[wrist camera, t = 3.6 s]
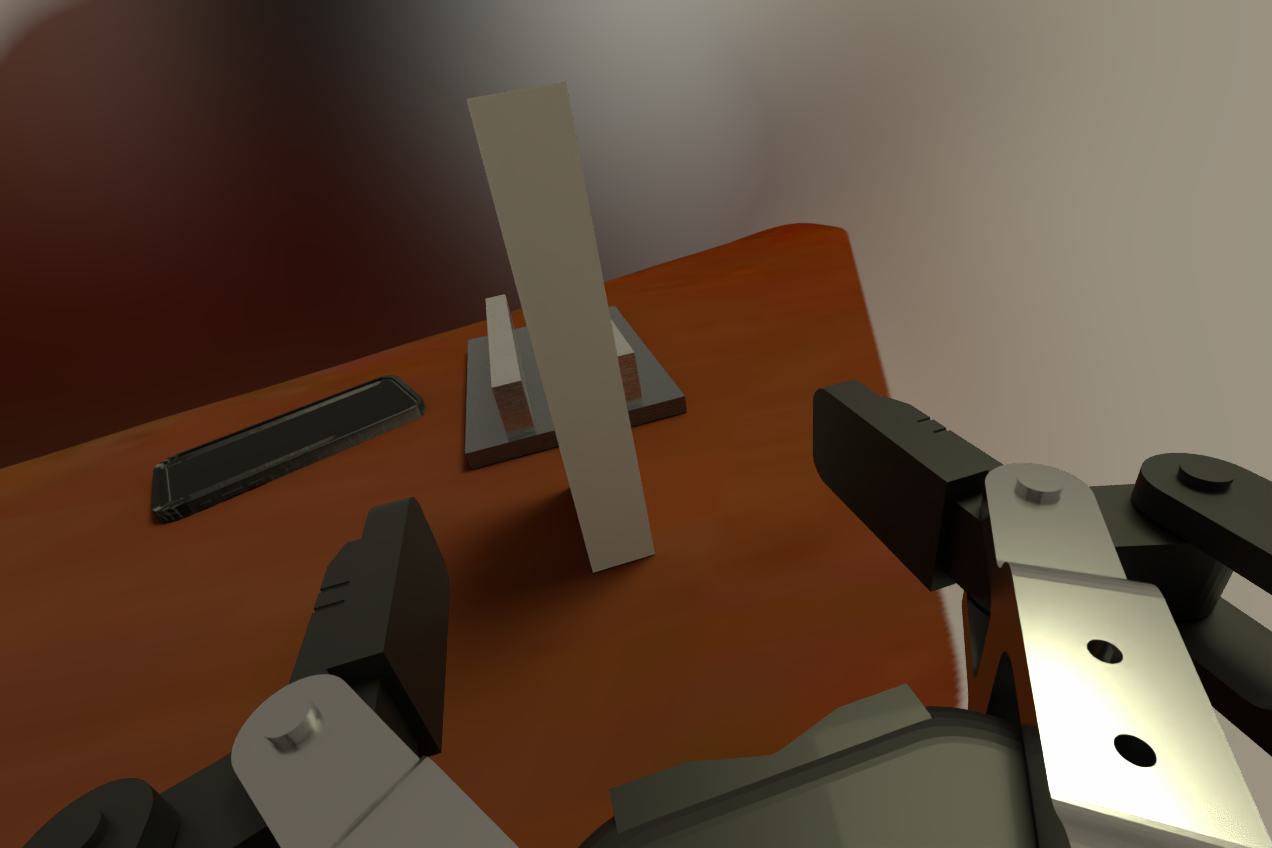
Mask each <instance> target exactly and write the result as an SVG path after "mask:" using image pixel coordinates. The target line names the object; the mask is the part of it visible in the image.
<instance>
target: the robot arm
mask: <svg viewBox="0 0 1272 848" xmlns="http://www.w3.org/2000/svg"><path fill="white" fill-rule="evenodd" d="M813 458H814V463H815V466H816V469H817V472H818V474H819V476H820V477H821V479H822V480H823V482H824V483H825V484H826V485H827V486H828V487H829V488H830V489H831V490H832V491H833V492H834V493H835V494H836V495H837V496H838V497H839V498H840V499H841V500H842V501H843V502H844V503H845V504H846V505H847V506H848V507H849V509H850V510H851V511H852V512H853V513H854V514H855V515H856V516H857V517H858V518H859V519H860V520H861V521H862V522H863V523H864V524H865V525H866V526H867V527H868V528H869V529H870V530H871V531H872V532H873V533H874V534H875V535H876V536H877V537H878V538H879V539H880V540H881V541H882V542H883V543H884V544H885V545H886V546H887V547H888V549H889V550H890V551H891V552H892V553H893V554H894V555H895V556H896V557H897V558H898V559H899V560H900V561H901V562H902V563H903V564H904V565H905V566H906V567H907V568H908V569H909V570H910V571H911V572H912V573H913V574H914V575H915V576H916V577H917V578H918V579H919V580H920V581H921V582H922V583H923V584H924V585H925V586H926V587H927V589H928V590H929V591H930V592H932V591H935V590H938V589H941V588H944V587H947V586H950V585H953V584H955V583H957V584H958V585H959V586H960V587H961V588H962V589H963V590H964V594H963V599H962V615H963V627H964V641H965V655H966V668H967V681H968V710H966V709H960V708H954V707H939V706H923V704H922V703H921V702H920V701H919V699H918V698H917V697H916V695H915V694H914V693H913V691H912V690H911V689H910V688H909V686H908V685H907V684H904V685H901V686H898V687H895V688H892V689H890V690H887V691H884V692H881V693H878V694H875V695H873V696H870V697H867V698H864V699H861V700H859V701H856V702H853V703H850V704H847V705H845V706H842V707H839V708H837V709H836V710H834V711H833V712H831V713H830V714H829V715H827V716H826V717H825V718H823V719H822V720H821V721H819V722H818V723H817V724H815V725H814V726H813V727H811V728H810V729H808V730H807V731H806V732H804V733H803V734H802V735H800V736H799V737H798V738H796V739H795V740H794V741H792V742H791V743H789V744H788V745H787V746H785V747H784V748H783V749H781V750H780V751H778V752H777V753H774V754H772V755H767V756H758V757H745V758H731V759H718V760H705V761H692V762H685V763H682V764H679V765H676V766H674V767H671V768H668V769H665V770H662V771H660V772H657V773H654V774H651V775H648V776H645V777H643V778H640V779H637V780H634V781H631V782H629V783H626V784H623V785H620V786H617V787H615V788H612V789H609V792H610V797H611V802H612V807H613V812H614V817H612V818H611V819H610V820H608V821H607V822H605V823H604V824H603V825H601V826H600V827H599V828H598V829H597V830H596V831H594V832H593V833H592V834H591V835H590V836H589V837H588V838H587V839H586V840H585V841H584V842H583V843H582V844H581V845H580V846H579V847H578V848H1272V842H1271V839H1270V837H1269V835H1268V833H1267V831H1266V828H1265V826H1264V824H1263V821H1262V819H1261V817H1260V814H1259V812H1258V810H1257V808H1256V805H1255V803H1254V801H1253V799H1252V796H1251V794H1250V792H1249V789H1248V787H1247V785H1246V783H1245V780H1244V778H1243V776H1242V774H1241V772H1240V769H1239V767H1238V765H1237V762H1236V760H1235V758H1234V756H1233V754H1232V751H1231V749H1230V746H1229V744H1228V742H1227V740H1226V738H1225V735H1224V733H1223V731H1222V729H1221V726H1220V724H1219V721H1218V719H1217V717H1216V715H1215V712H1214V710H1213V708H1212V707H1214V708H1215V709H1216V710H1217V711H1218V712H1219V713H1221V714H1222V715H1223V716H1224V717H1225V718H1227V719H1228V720H1229V721H1230V722H1231V723H1232V724H1234V725H1235V726H1236V727H1237V728H1239V729H1240V730H1241V731H1242V732H1243V733H1244V734H1245V735H1247V736H1248V737H1249V738H1250V739H1251V740H1253V741H1254V742H1255V743H1256V744H1257V745H1258V746H1260V747H1261V748H1262V749H1263V750H1264V751H1266V752H1267V753H1268V754H1269V755H1270V756H1272V632H1271V631H1270V630H1269V629H1267V628H1266V627H1264V626H1263V625H1261V624H1260V623H1258V622H1257V621H1255V620H1254V619H1252V618H1251V617H1249V616H1248V615H1247V614H1245V613H1244V612H1242V611H1241V610H1239V609H1238V608H1236V607H1235V606H1233V605H1232V604H1230V603H1229V602H1227V601H1226V600H1224V599H1223V598H1221V597H1220V596H1221V594H1222V592H1223V590H1224V588H1225V586H1226V584H1227V582H1228V581H1229V578H1230V577H1231V575H1232V572H1233V571H1235V572H1236V573H1238V574H1240V575H1241V576H1242V577H1244V578H1246V579H1247V580H1249V581H1250V582H1252V583H1254V584H1255V585H1257V586H1258V587H1260V588H1261V589H1263V590H1265V591H1266V592H1268V593H1269V594H1271V595H1272V482H1271V481H1269V480H1267V479H1265V478H1263V477H1261V476H1259V475H1257V474H1255V473H1253V472H1251V471H1249V470H1246V469H1244V468H1242V467H1240V466H1237V465H1235V464H1232V463H1229V462H1227V461H1224V460H1220V459H1217V458H1212V457H1208V456H1203V455H1197V454H1188V453H1166V454H1160V455H1155V456H1153V457H1150V458H1148V459H1147V460H1145V461H1144V462H1143V464H1142V467H1141V469H1140V472H1139V475H1138V478H1137V480H1136V483H1135V484H1128V485H1110V486H1092V487H1089V486H1088V485H1087V484H1085V483H1084V482H1083V481H1082V480H1080V479H1078V478H1077V477H1075V476H1074V475H1071V474H1069V473H1067V472H1065V471H1062V470H1059V469H1057V468H1053V467H1050V466H1045V465H1040V464H1032V463H1013V464H1006V465H1003V464H1002V463H1000V462H998V461H997V460H995V459H994V458H992V457H991V456H989V455H988V454H986V453H985V452H983V451H981V450H980V449H978V448H977V447H975V446H974V445H972V444H971V443H969V442H967V441H966V440H964V439H963V438H961V437H959V436H958V435H957V434H955V433H953V432H952V431H950V430H949V431H946V428H945V427H944V426H942V425H941V424H939V423H938V422H936V421H935V420H930V417H928V416H927V415H926V414H924V413H922V412H921V411H919V410H917V409H916V408H915V407H913V406H912V405H910V404H907V403H903V402H900V401H897V400H894V399H891V398H888V397H885V396H883V397H880V396H879V395H877V394H876V393H874V392H873V391H871V390H870V389H868V388H867V387H865V386H864V385H862V384H861V383H859V382H858V381H855V380H850V381H847V382H843V383H839V384H836V385H832V386H828V387H824V388H821V389H818V390H817V391H816V392H815V394H814V398H813ZM320 590H321V593H320V594H318V597H317V600H316V603H315V606H314V610H315V613H312V615H311V619H310V622H309V625H308V628H307V631H306V634H305V637H304V640H303V643H302V646H301V649H300V652H299V655H298V658H297V661H296V664H295V667H294V670H293V673H292V676H291V679H290V682H289V685H288V686H286V687H284V688H282V689H281V690H279V691H278V692H276V693H275V694H273V695H272V696H271V697H269V698H268V699H267V700H266V701H265V702H264V703H262V704H261V705H260V706H259V707H258V708H257V709H256V710H255V711H254V712H253V714H252V715H251V716H250V717H249V718H248V720H247V721H246V722H245V724H244V725H243V727H242V728H241V730H240V732H239V733H238V735H237V737H236V739H235V742H234V745H233V748H232V752H231V753H230V754H228V755H226V756H225V757H223V758H222V759H220V760H218V761H216V762H215V763H213V764H211V765H209V766H208V767H206V768H204V769H202V770H201V771H199V772H197V773H195V774H194V775H192V776H190V777H188V778H187V779H185V780H183V781H181V782H180V783H178V784H176V785H174V786H173V787H171V788H169V789H167V790H166V791H164V792H162V793H160V794H159V793H158V792H156V791H155V790H154V789H153V788H152V787H151V786H150V785H149V784H148V783H146V782H145V781H144V780H141V779H138V778H126V779H119V780H116V781H113V782H109V783H107V784H104V785H102V786H100V787H97V788H95V789H94V790H92V791H90V792H88V793H86V794H84V795H83V796H81V797H80V798H78V799H76V800H75V801H73V802H72V803H70V804H69V805H68V806H66V807H65V808H64V809H62V810H61V811H60V812H58V813H57V814H56V815H55V816H54V817H53V818H51V819H50V820H49V821H48V822H47V823H46V824H45V825H44V826H42V827H41V828H40V829H39V830H38V831H37V832H36V833H35V834H34V835H33V836H32V838H31V839H30V840H29V841H28V842H27V843H26V844H25V845H24V846H23V848H519V847H518V846H517V845H516V844H515V843H514V842H513V841H512V840H511V839H510V838H509V837H508V836H507V835H506V834H505V833H504V832H503V831H502V830H501V829H500V828H499V827H498V826H497V825H496V824H495V823H494V822H493V821H492V820H491V819H490V818H489V817H488V816H487V815H486V814H485V813H484V812H483V811H482V810H481V809H480V808H479V807H478V806H477V805H476V804H475V803H474V802H473V801H472V800H471V799H470V798H469V797H468V796H467V795H466V794H465V793H464V792H463V791H462V790H461V789H460V788H459V787H458V786H457V785H456V784H455V783H454V782H453V781H452V780H451V779H450V778H449V777H448V776H447V775H446V774H445V773H444V772H443V771H442V770H441V769H440V768H439V767H438V766H437V765H436V764H435V763H434V762H433V761H432V760H431V759H429V758H428V757H430V756H433V755H436V754H439V753H441V748H442V729H443V710H444V691H445V672H446V653H447V634H448V615H449V596H450V586H449V578H448V573H447V568H446V565H445V562H444V559H443V557H442V554H441V552H440V550H439V547H438V545H437V543H436V541H435V538H434V536H433V534H432V532H431V529H430V527H429V525H428V522H427V520H426V518H425V516H424V513H423V511H422V509H421V507H420V505H419V503H418V501H417V500H416V499H415V498H414V497H411V498H407V499H403V500H399V501H396V502H392V503H388V504H385V505H381V506H377V507H373V508H371V509H370V510H369V513H368V516H367V520H366V524H365V527H364V531H363V535H362V538H361V539H359V540H356V541H352V542H348V543H346V544H345V545H344V547H343V548H342V549H341V550H340V552H339V553H338V554H337V555H336V557H335V558H334V559H333V560H332V562H331V563H330V564H329V565H328V567H327V570H326V573H325V576H324V579H323V582H322V585H321V588H320Z"/></svg>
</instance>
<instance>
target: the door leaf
mask: <svg viewBox="0 0 1272 848" xmlns="http://www.w3.org/2000/svg"><path fill="white" fill-rule="evenodd" d="M467 104H468V107H469V111H470V115H471V119H472V122H473V126H474V130H475V133H476V137H477V141H478V145H479V148H480V152H481V156H482V160H483V163H484V167H485V171H486V175H487V178H488V182H489V186H490V190H491V193H492V197H493V201H494V204H495V208H496V212H497V216H498V219H499V223H500V227H501V231H502V234H503V238H504V242H505V246H506V249H507V253H508V257H509V261H510V264H511V268H512V272H513V276H514V279H515V283H516V287H517V290H518V294H519V298H520V302H521V306H522V309H523V313H524V317H525V321H526V324H527V328H528V332H529V336H530V339H531V343H532V347H533V351H534V354H535V358H536V362H537V366H538V369H539V373H540V377H541V381H542V384H543V388H544V392H545V395H546V399H547V403H548V407H549V410H550V414H551V418H552V422H553V425H554V429H555V433H556V437H557V440H558V444H559V448H560V452H561V455H562V459H563V463H564V467H565V470H566V474H567V478H568V482H569V485H570V489H571V493H572V497H573V500H574V504H575V508H576V511H577V515H578V519H579V523H580V526H581V530H582V534H583V538H584V541H585V545H586V549H587V553H588V556H589V560H590V564H591V568H592V571H593V573H594V572H597V571H600V570H604V569H607V568H610V567H614V566H617V565H620V564H624V563H627V562H630V561H634V560H637V559H640V558H644V557H647V556H650V555H654V554H655V553H654V548H653V542H652V537H651V532H650V526H649V521H648V516H647V510H646V505H645V500H644V494H643V489H642V484H641V478H640V473H639V468H638V462H637V457H636V452H635V447H634V441H633V436H632V431H631V425H630V420H629V415H628V409H627V404H626V399H625V393H624V388H623V383H622V377H621V372H620V367H619V361H618V356H617V351H616V345H615V340H614V335H613V330H612V324H611V319H610V314H609V308H608V303H607V298H606V292H605V287H604V282H603V277H602V271H601V266H600V260H599V255H598V250H597V244H596V240H595V234H594V228H593V223H592V218H591V213H590V207H589V202H588V197H587V191H586V186H585V181H584V176H583V170H582V165H581V159H580V154H579V149H578V144H577V139H576V133H575V128H574V122H573V117H572V111H571V107H570V101H569V95H568V90H567V85H566V82H561V83H555V84H549V85H544V86H538V87H532V88H527V89H522V90H516V91H510V92H504V93H498V94H492V95H487V96H481V97H476V98H470V99H467Z"/></svg>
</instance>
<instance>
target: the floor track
mask: <svg viewBox="0 0 1272 848" xmlns="http://www.w3.org/2000/svg"><path fill="white" fill-rule="evenodd" d="M608 308H609V314H610V319H611V324H612V330H613V335H614V340H615V345H616V351H617V356H618V361H619V367H620V372H621V377H622V383H623V388H624V393H625V399H626V404H627V409H628V415H629V420H630V425H631V427H632V426H636V425H640V424H643V423H647V422H651V421H655V420H658V419H662V418H666V417H670V416H673V415H677V414H681V413H685V412H687V410H686V402H685V396H684V394H683V393H682V392H681V391H680V389H679V388H678V387H677V385H676V384H675V383H674V382H673V380H672V379H671V378H670V376H669V375H668V374H667V373H666V371H665V370H664V369H663V367H662V366H661V365H660V364H659V362H658V361H657V360H656V358H655V357H654V356H653V355H652V353H651V352H650V351H649V350H648V348H647V347H646V346H645V344H644V343H643V342H642V341H641V339H640V338H639V337H638V335H637V334H636V333H635V332H634V330H633V329H632V328H631V326H630V325H629V324H628V323H627V321H626V320H625V319H624V317H623V316H622V315H621V314H620V312H619V311H618V310H617V308H616V307H615V306H612V307H608ZM486 311H487V326H488V336H484V337H480V338H475V339H471V340H468V363H467V400H466V436H465V455H466V458H467V461H468V463H469V466H470V469H475V468H479V467H482V466H486V465H490V464H494V463H497V462H501V461H505V460H509V459H512V458H516V457H520V456H524V455H527V454H531V453H535V452H539V451H542V450H546V449H550V448H554V447H557V446H559V444H558V440H557V437H556V433H555V429H554V425H553V422H552V418H551V414H550V410H549V407H548V403H547V399H546V395H545V392H544V388H543V384H542V381H541V377H540V373H539V369H538V366H537V362H536V358H535V354H534V351H533V347H532V343H531V339H530V336H529V332H528V328H527V326H526V327H522V328H518V329H515V328H514V324H513V321H512V317H511V314H510V310H509V307H508V303H507V300H506V296H505V295H500V296H496V297H492V298H487V299H486Z"/></svg>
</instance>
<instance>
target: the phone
mask: <svg viewBox="0 0 1272 848" xmlns="http://www.w3.org/2000/svg"><path fill="white" fill-rule="evenodd" d="M426 410H427V409H426V406H425V404H424V401H423V399H422V397H421V396H420V395H418V394H417V393H416V392H415V391H414V390H413V389H411V388H410V387H409V386H408V385H407V384H405V383H404V382H403V381H402V380H401V379H400V378H398V377H397V376H395V375H388V376H383V377H380V378H377V379H374V380H371V381H369V382H366V383H363V384H361V385H358V386H355V387H353V388H350V389H348V390H345V391H342V392H340V393H337V394H334V395H332V396H329V397H326V398H324V399H321V400H319V401H316V402H313V403H311V404H308V405H305V406H303V407H300V408H297V409H295V410H292V411H290V412H287V413H284V414H282V415H279V416H276V417H274V418H271V419H268V420H266V421H263V422H261V423H258V424H255V425H253V426H250V427H247V428H245V429H242V430H239V431H237V432H234V433H232V434H229V435H226V436H224V437H221V438H218V439H216V440H213V441H210V442H208V443H205V444H203V445H200V446H197V447H195V448H192V449H189V450H187V451H184V452H181V453H179V454H176V455H174V456H171V457H169V458H167V459H165V460H163V461H162V462H160V463H159V464H158V465H156V466H155V467H154V470H153V484H152V503H151V509H152V511H153V512H154V513H155V515H156V516H157V517H158V519H159V520H160V521H161V522H164V523H166V522H173V521H177V520H180V519H183V518H186V517H188V516H190V515H193V514H195V513H197V512H200V511H202V510H204V509H207V508H209V507H211V506H214V505H216V504H218V503H221V502H223V501H225V500H228V499H230V498H233V497H235V496H237V495H240V494H242V493H244V492H247V491H249V490H251V489H254V488H256V487H258V486H261V485H263V484H265V483H268V482H270V481H272V480H275V479H277V478H279V477H282V476H284V475H286V474H289V473H291V472H293V471H296V470H298V469H301V468H303V467H305V466H308V465H310V464H312V463H315V462H317V461H319V460H322V459H324V458H326V457H329V456H331V455H333V454H336V453H338V452H340V451H343V450H345V449H347V448H350V447H352V446H354V445H357V444H359V443H362V442H364V441H366V440H369V439H371V438H373V437H376V436H378V435H380V434H383V433H385V432H387V431H390V430H392V429H394V428H397V427H399V426H401V425H404V424H406V423H408V422H411V421H413V420H415V419H417V418H419V417H421V416H422V415H423V414H424V413H425V412H426Z"/></svg>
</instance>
